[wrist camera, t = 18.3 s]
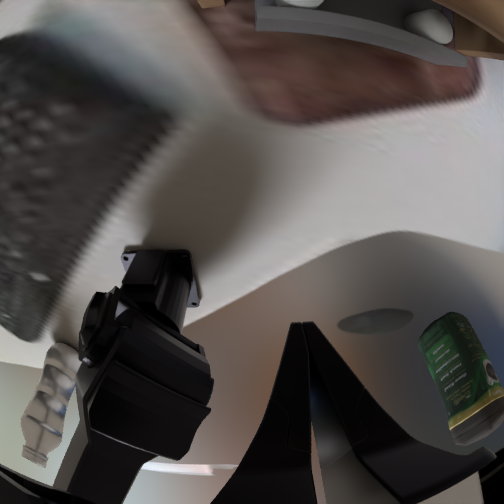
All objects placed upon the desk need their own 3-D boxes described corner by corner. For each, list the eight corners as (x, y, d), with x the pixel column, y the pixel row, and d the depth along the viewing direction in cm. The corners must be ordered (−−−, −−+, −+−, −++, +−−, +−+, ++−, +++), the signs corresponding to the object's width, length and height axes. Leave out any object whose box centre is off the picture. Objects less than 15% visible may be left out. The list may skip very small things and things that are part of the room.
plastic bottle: (61, 356, 35) (27, 458, 18) (47, 332, 31) (3, 444, 14) (92, 366, 35) (63, 476, 19) (80, 342, 32) (41, 466, 15)
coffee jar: (407, 341, 32) (447, 458, 17) (446, 303, 28) (504, 423, 13) (437, 349, 35) (474, 444, 20) (471, 317, 31) (518, 413, 16)
